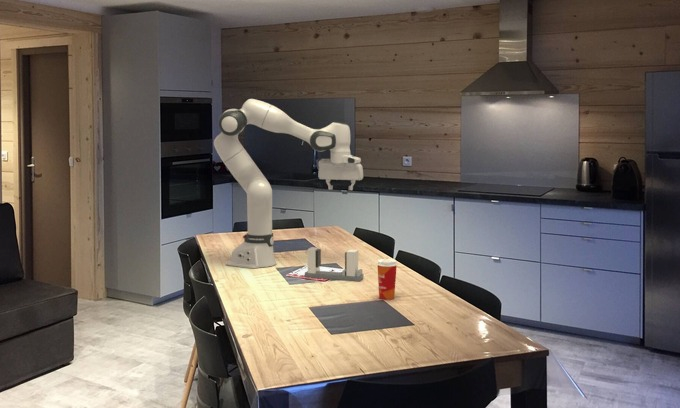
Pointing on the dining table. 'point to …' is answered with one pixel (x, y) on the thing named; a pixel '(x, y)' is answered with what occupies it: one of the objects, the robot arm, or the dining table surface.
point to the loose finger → (351, 262)
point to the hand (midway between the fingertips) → (340, 189)
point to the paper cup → (386, 278)
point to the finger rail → (315, 272)
